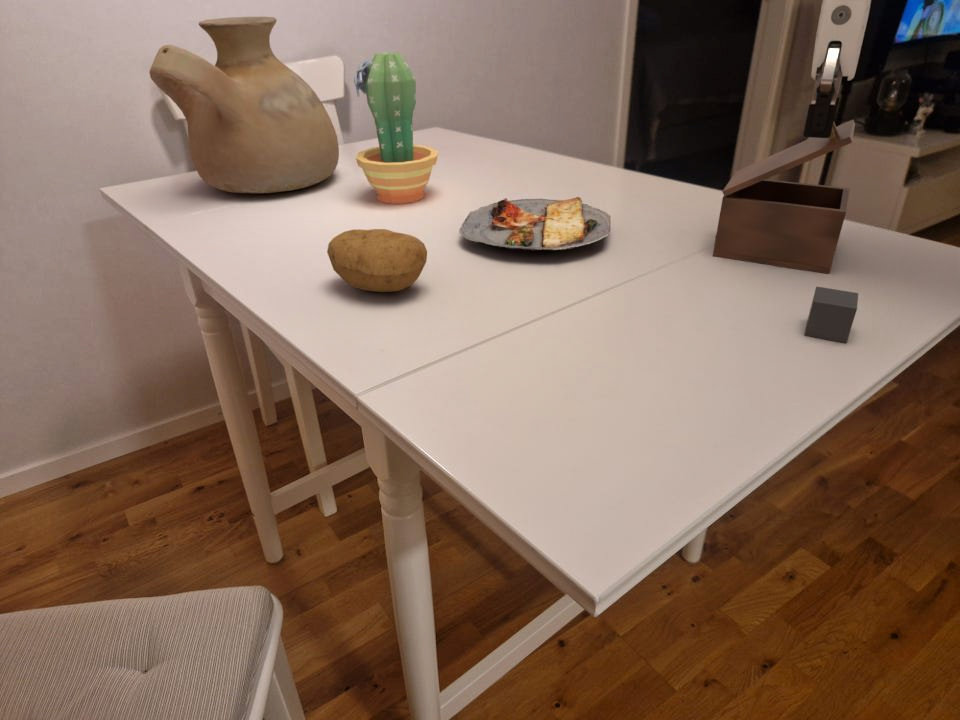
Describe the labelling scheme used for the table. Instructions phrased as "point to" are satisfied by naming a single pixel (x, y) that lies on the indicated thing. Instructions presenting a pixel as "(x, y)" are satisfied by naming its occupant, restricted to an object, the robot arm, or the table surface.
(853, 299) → the block
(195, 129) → the jug
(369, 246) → the potato
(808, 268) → the box
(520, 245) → the food plate
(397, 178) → the potted cactus
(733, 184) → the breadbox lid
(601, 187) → the table surface
